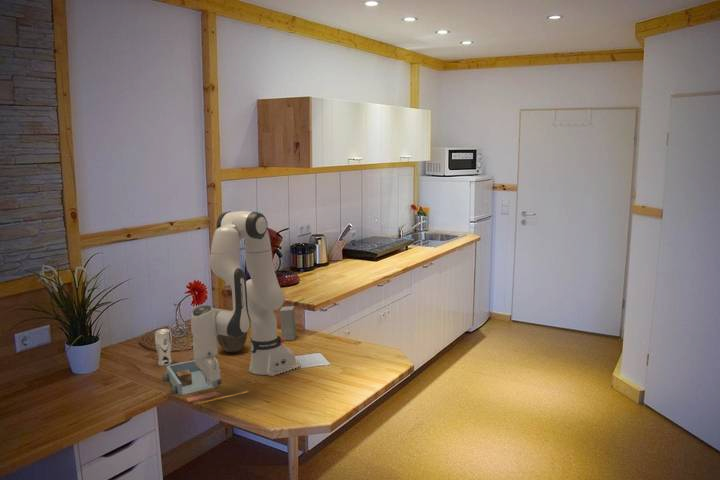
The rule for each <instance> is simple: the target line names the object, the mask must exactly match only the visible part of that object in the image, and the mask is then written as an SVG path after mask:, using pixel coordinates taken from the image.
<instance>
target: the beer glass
mask: <svg viewBox="0 0 720 480" xmlns="http://www.w3.org/2000/svg"><path fill="white" fill-rule="evenodd" d="M172 341H173V339H172V330H171V329H170V328H160V329H157V330H155V332H154V342H155V348H156V351H157V357H158V358H157V359H158V360H157V365H158V366H161V367H164V366H165V367H166V366H167V365H172V364H173V360H172V355H171V353H172V346H173V345H172V344H173V343H172Z"/></svg>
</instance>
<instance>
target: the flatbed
mask: <svg viewBox="0 0 720 480" xmlns="http://www.w3.org/2000/svg"><path fill="white" fill-rule="evenodd" d="M183 370H189V371H190V372H191V375H192V384H190V385H185V386H182V383H181V382H180V380H179V379H178V378H177V376H176V372H178V371H183ZM161 378H162V381H163V382H164V383H166V382H170V384H171V385H172V386H171V387H169V392H170V393H171V395H175V394H178V396H183V395H187V394H191V393H195V392H199V391H200V392H202V391H205V390H209V389H214V388H218V385H221V384H222V380H221V378H220V379H219V380H216V381H212V384H211V385H207V383H206V382H205V377H204V374H203V372H202V371H201V370H200V369H199V368H198V367H197V365H196V364H195V360H189V361H183V362H178V363H171V364H169V365H165V374H163V375H161Z"/></svg>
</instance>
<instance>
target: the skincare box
mask: <svg viewBox="0 0 720 480" xmlns="http://www.w3.org/2000/svg"><path fill="white" fill-rule="evenodd" d="M295 316H296V314H295V306H294V305H293V306H288V305H287V306H281V307H280V310H279V317H280V319H279V320H280V330H281V338H284V339H285V340H286V341H295V339H296V336H297V328H296V327H297V326H296V317H295Z"/></svg>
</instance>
